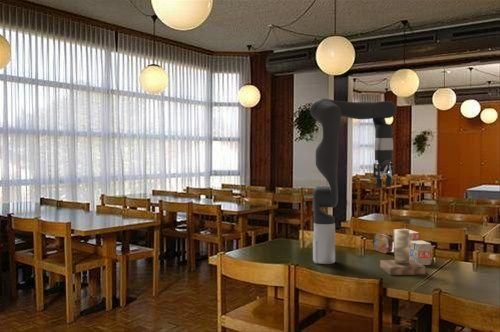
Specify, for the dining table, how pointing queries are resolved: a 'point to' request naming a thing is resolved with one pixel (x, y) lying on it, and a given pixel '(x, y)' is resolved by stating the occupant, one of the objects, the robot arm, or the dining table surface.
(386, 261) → the board
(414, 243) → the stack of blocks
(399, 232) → the dowel
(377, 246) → the tin
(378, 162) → the robot arm
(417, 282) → the dining table surface
